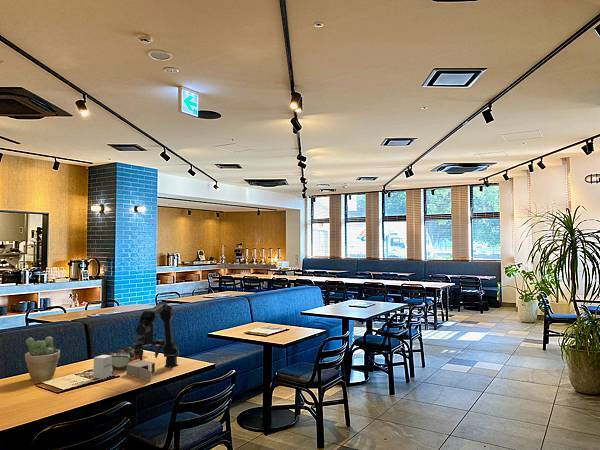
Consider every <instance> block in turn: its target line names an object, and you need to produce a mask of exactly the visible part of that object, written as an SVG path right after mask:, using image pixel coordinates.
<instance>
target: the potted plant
mask: <svg viewBox="0 0 600 450" xmlns="http://www.w3.org/2000/svg"><path fill="white" fill-rule="evenodd" d="M25 343H26V344H25V345H26V346H27V348H28V352H26V353H25V354H24V359H25V363H26V367H27V370H28V374H29V378H30V379H31V381H32V382H46V381H49V380H52V379H53V378H54V377H55V372H56V369H57V368H58V367H57V366H58V364H59V363H58V362H59V359H60V355H61V350H60V349H57V348H55V347H54V345H55V344H54V337H52V336H46V337H45V339H44V340H43V339H42V340H35V339H34V338H33V337H28V338H27V339H26V340H25Z"/></svg>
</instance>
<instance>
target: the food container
mask: <svg viewBox="0 0 600 450" xmlns="http://www.w3.org/2000/svg"><path fill="white" fill-rule="evenodd" d="M114 353H115V354H112V355H111V356H112V372H116V371H117V372H126V366H127V364H128V361H129V358H130V355H129V353H116V352H114Z"/></svg>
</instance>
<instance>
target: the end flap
mask: <svg viewBox="0 0 600 450" xmlns="http://www.w3.org/2000/svg"><path fill="white" fill-rule="evenodd" d="M151 371H152V364H151V363H148V370H146V369H143V368H139V377H138V378H141V379H144V380H147V381H151V382H152V374H151Z"/></svg>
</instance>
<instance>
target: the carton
mask: <svg viewBox="0 0 600 450" xmlns="http://www.w3.org/2000/svg"><path fill="white" fill-rule="evenodd" d="M148 363H151V364H152V371H151V375H153V374H155V373H156V367H155V366H156V362H153V361H149V360H146V359H143V360H142V361H138V362H134V363H130V364H127V366H126V371H125V372H126V374H125V375H128V376H133V377H135V378H136V377H137V378H140V377H139V368H143V369H146V370H148Z"/></svg>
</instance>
